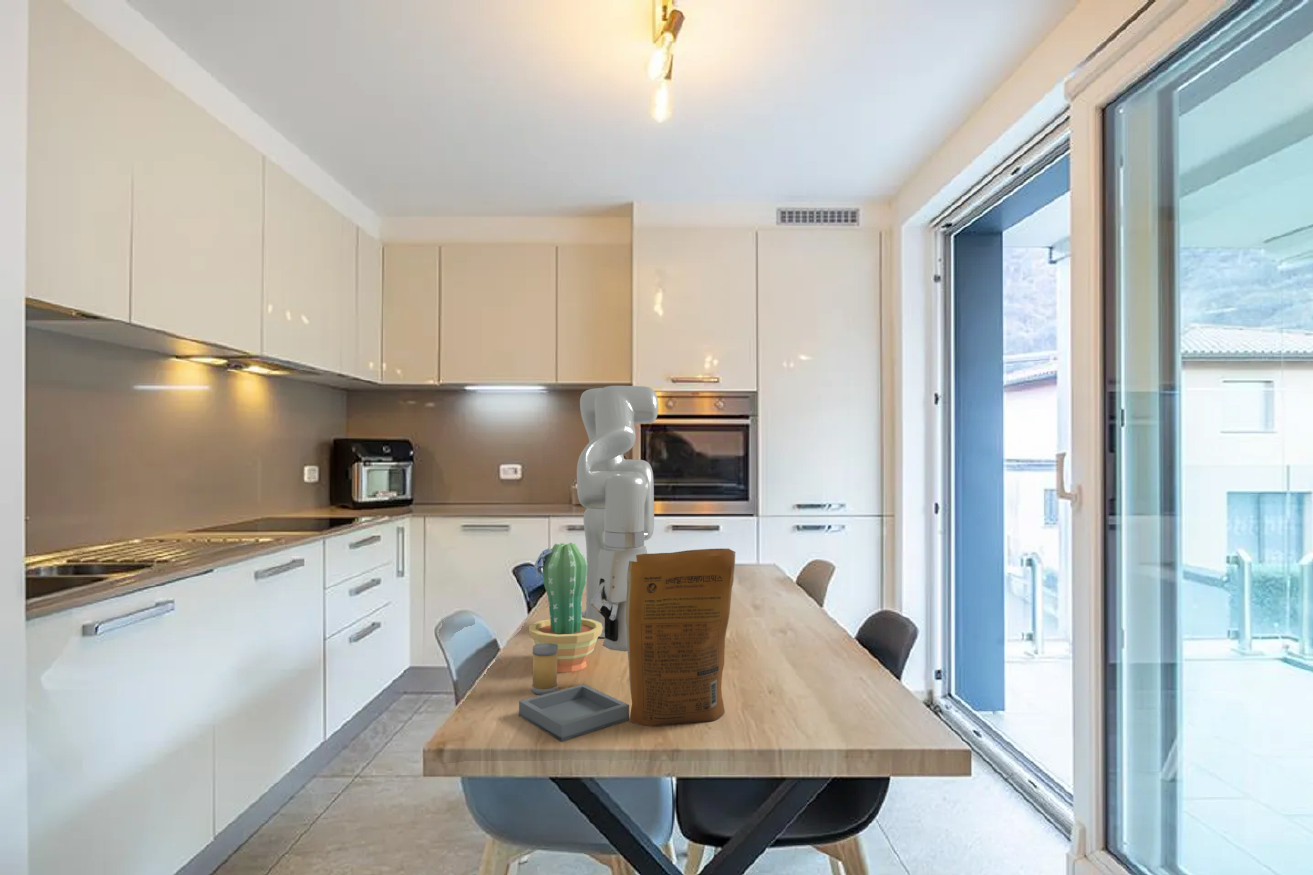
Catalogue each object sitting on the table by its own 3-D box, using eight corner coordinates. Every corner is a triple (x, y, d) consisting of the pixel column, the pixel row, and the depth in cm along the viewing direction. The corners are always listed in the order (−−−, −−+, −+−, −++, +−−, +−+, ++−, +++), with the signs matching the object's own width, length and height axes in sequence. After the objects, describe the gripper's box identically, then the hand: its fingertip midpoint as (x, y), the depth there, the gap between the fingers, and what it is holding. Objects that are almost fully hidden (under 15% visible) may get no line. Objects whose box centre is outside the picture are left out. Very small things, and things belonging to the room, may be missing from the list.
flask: (619, 637, 128) (620, 587, 128) (649, 645, 124) (650, 592, 124) (595, 647, 123) (596, 593, 123) (626, 655, 118) (626, 599, 118)
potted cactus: (563, 649, 146) (565, 537, 147) (618, 662, 137) (619, 542, 138) (511, 667, 133) (513, 544, 134) (567, 683, 125) (568, 551, 125)
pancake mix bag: (742, 723, 106) (742, 550, 107) (626, 733, 102) (628, 553, 103) (728, 707, 113) (728, 544, 114) (618, 717, 108) (620, 547, 109)
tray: (518, 715, 109) (519, 700, 109) (583, 697, 117) (583, 683, 117) (561, 741, 99) (561, 725, 99) (629, 719, 107) (629, 704, 107)
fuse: (527, 689, 121) (528, 646, 121) (548, 684, 124) (549, 641, 124) (540, 696, 117) (540, 651, 118) (562, 691, 120) (562, 647, 121)
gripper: (645, 533, 132) (644, 624, 132) (575, 541, 121) (574, 640, 121) (670, 538, 126) (669, 633, 126) (599, 547, 115) (597, 651, 115)
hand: (622, 635), depth 123 cm, fingers closed on flask, 4 cm apart
